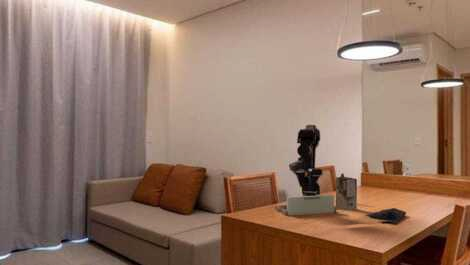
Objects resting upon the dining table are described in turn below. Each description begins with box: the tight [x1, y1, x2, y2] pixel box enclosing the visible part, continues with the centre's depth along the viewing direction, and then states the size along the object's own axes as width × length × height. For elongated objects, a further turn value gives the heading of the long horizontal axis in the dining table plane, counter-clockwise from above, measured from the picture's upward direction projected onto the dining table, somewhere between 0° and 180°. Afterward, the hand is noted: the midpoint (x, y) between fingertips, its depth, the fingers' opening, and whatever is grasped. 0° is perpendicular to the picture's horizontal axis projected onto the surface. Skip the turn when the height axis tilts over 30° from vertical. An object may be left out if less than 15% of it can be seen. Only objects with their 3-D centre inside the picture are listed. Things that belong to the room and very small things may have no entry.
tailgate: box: [286, 194, 335, 216], centre depth 159 cm, size 2×24×8 cm, turn 107°
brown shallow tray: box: [274, 204, 337, 216], centre depth 165 cm, size 12×26×3 cm, turn 107°
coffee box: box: [335, 176, 358, 211], centre depth 174 cm, size 9×6×16 cm
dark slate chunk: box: [365, 207, 407, 226], centre depth 158 cm, size 15×22×5 cm
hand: (306, 188), depth 165 cm, fingers open, 9 cm apart
